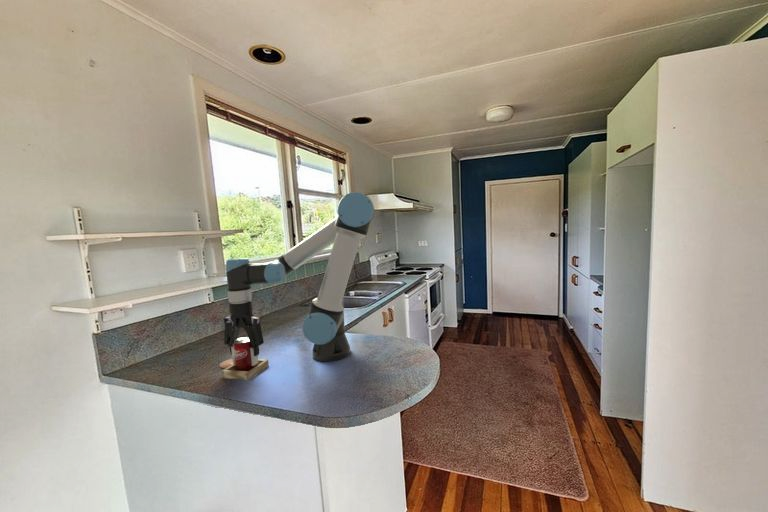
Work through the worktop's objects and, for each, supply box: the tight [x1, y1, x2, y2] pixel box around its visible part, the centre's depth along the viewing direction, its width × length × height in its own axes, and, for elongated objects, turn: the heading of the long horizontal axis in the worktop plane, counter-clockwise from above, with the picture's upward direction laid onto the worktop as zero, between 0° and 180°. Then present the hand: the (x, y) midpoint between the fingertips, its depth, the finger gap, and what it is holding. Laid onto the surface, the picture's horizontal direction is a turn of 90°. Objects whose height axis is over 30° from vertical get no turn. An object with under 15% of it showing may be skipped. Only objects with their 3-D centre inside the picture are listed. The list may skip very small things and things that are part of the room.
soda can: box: [233, 336, 257, 371], centre depth 110 cm, size 7×7×12 cm
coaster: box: [219, 358, 233, 369], centre depth 118 cm, size 8×8×1 cm
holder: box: [221, 358, 270, 381], centre depth 110 cm, size 11×11×2 cm
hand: (245, 363), depth 110 cm, fingers closed on soda can, 7 cm apart
